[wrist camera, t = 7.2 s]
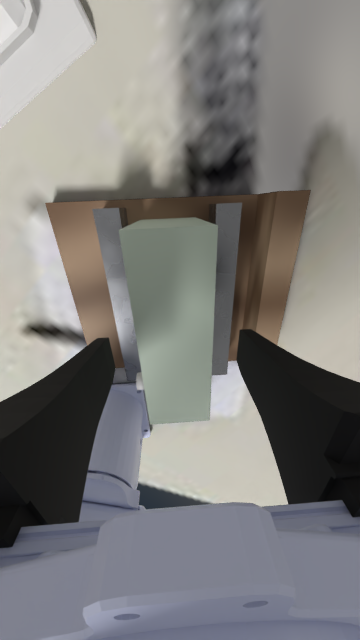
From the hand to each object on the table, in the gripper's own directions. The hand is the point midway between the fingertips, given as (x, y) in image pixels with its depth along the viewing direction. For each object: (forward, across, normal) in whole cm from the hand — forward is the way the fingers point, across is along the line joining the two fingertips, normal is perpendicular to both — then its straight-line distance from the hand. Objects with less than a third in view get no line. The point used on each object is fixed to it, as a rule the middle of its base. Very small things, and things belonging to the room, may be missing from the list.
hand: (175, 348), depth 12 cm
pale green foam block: (+8, 0, 0) cm, 8 cm away
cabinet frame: (+9, 0, 0) cm, 9 cm away
